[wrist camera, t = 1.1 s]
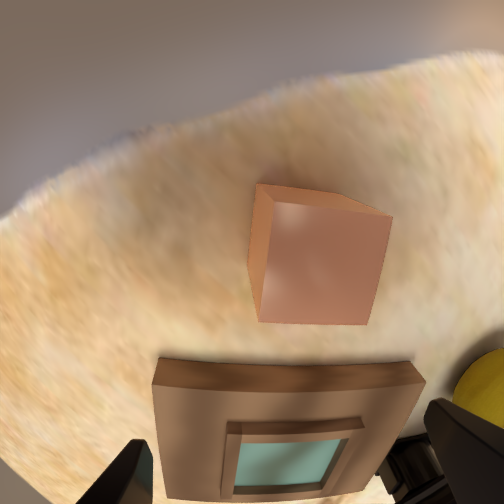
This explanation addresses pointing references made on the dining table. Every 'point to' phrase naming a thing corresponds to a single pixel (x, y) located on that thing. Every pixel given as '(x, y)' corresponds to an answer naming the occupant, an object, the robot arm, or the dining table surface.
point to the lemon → (483, 388)
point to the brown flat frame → (277, 427)
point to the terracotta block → (314, 256)
